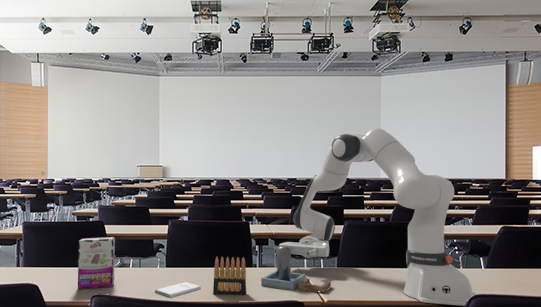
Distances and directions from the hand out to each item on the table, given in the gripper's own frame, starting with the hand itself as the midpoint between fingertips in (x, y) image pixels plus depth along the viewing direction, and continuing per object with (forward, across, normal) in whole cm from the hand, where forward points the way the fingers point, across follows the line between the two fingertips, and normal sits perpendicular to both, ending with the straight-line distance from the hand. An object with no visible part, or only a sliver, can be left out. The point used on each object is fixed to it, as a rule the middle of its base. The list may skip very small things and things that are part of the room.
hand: (297, 252), depth 148 cm
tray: (+12, 0, +9) cm, 15 cm away
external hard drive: (+36, -29, +10) cm, 47 cm away
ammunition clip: (+31, -11, +9) cm, 34 cm away
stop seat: (+12, +12, +9) cm, 19 cm away
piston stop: (+12, 0, +8) cm, 15 cm away
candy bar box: (+44, -57, +9) cm, 73 cm away
